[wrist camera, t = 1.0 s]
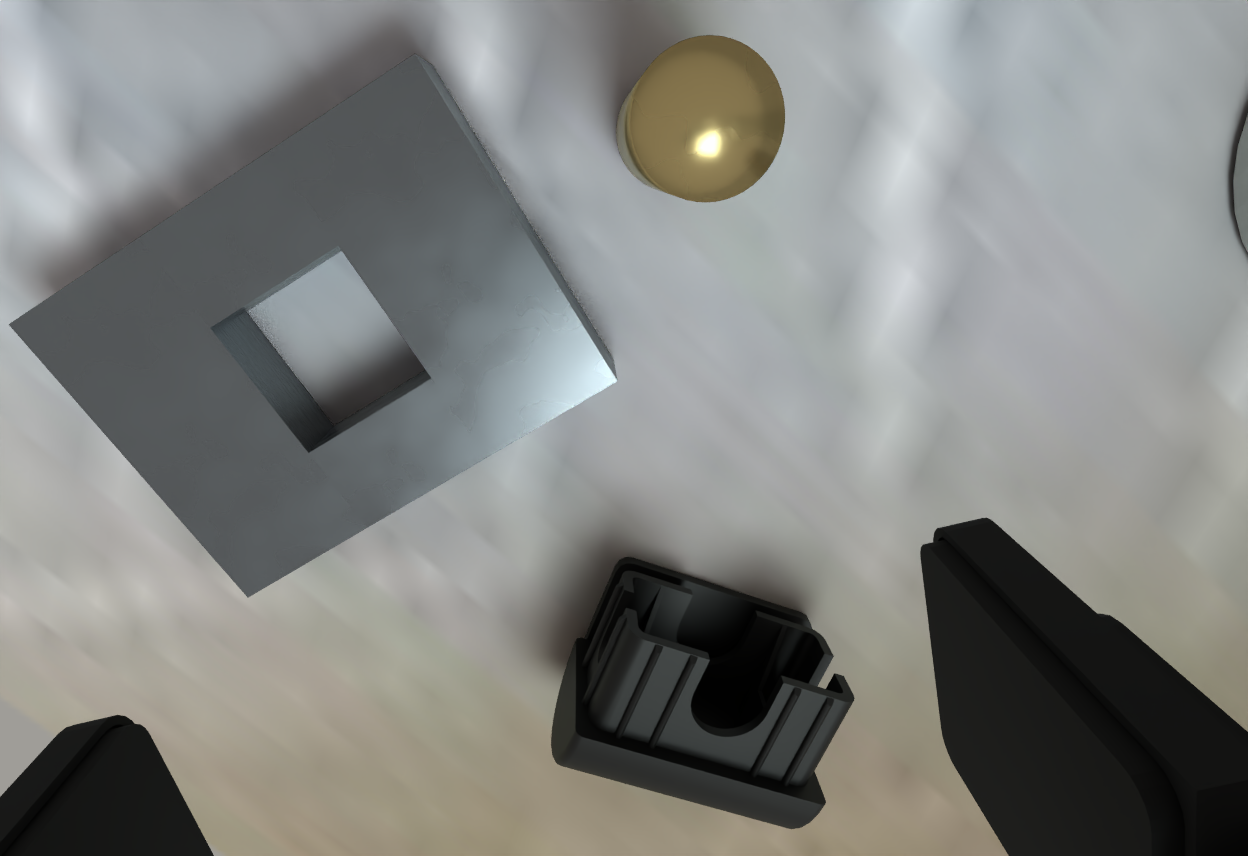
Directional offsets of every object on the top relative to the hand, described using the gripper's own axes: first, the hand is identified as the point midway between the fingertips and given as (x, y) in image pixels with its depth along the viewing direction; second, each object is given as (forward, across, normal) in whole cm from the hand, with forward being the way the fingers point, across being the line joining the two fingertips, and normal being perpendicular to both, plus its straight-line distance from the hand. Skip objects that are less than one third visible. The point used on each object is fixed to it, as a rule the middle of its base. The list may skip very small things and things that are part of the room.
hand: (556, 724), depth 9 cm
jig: (+22, +8, -2) cm, 23 cm away
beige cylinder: (+22, -5, -6) cm, 23 cm away
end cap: (+22, -1, +15) cm, 27 cm away
